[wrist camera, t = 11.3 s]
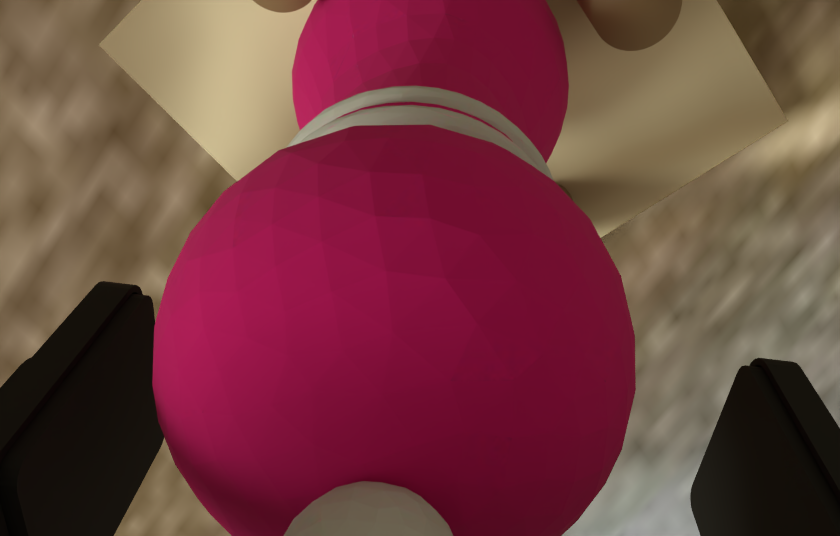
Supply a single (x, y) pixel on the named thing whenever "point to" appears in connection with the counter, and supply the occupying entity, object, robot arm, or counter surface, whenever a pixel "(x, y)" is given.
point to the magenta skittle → (401, 295)
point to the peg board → (587, 98)
